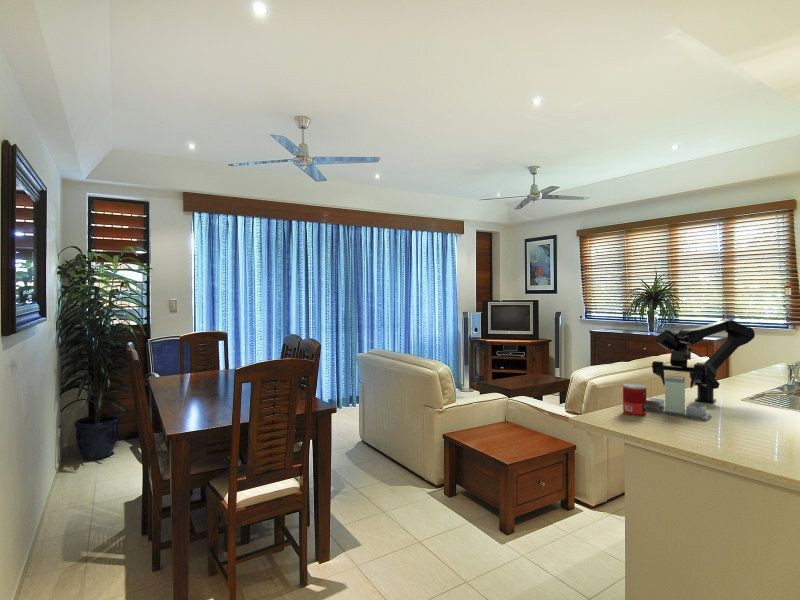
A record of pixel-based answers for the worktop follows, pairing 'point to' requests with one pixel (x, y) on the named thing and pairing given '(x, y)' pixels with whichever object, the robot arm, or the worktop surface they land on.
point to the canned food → (634, 399)
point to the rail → (690, 412)
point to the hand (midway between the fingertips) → (677, 386)
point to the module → (675, 394)
